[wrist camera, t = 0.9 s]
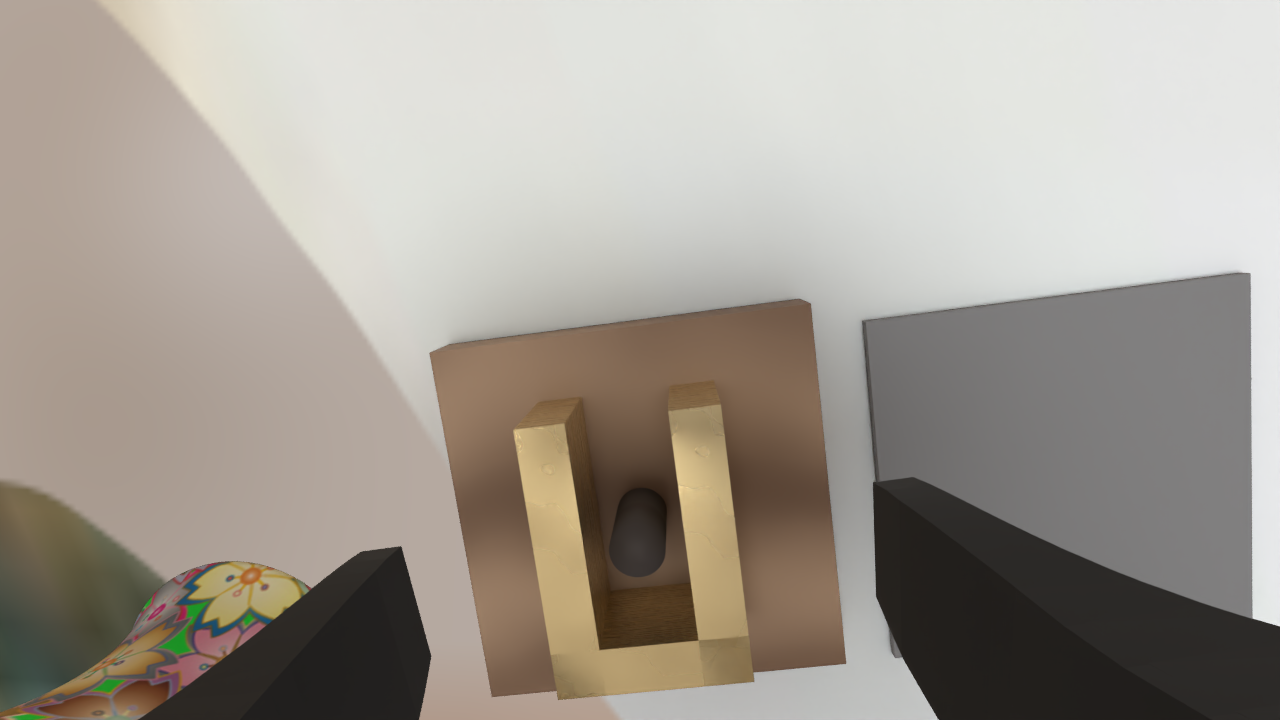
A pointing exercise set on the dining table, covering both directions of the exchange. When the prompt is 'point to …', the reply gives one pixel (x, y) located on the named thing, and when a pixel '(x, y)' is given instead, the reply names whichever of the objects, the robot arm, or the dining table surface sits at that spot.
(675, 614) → the u link
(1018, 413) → the mat
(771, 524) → the peg stand
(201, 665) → the mug
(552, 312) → the dining table surface
